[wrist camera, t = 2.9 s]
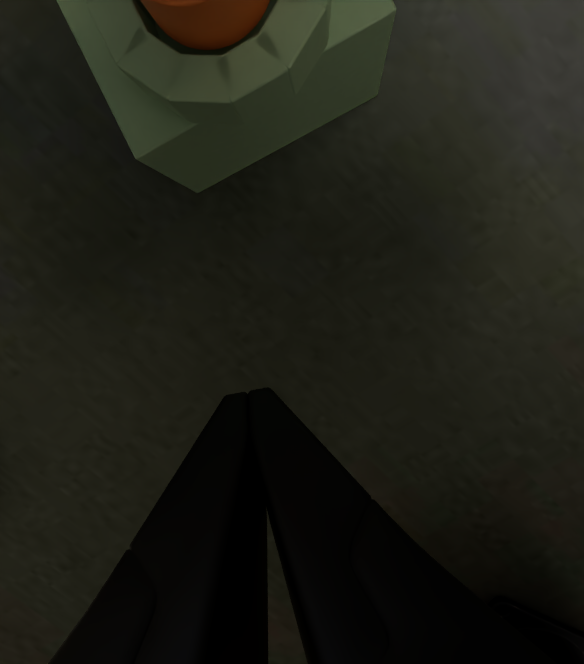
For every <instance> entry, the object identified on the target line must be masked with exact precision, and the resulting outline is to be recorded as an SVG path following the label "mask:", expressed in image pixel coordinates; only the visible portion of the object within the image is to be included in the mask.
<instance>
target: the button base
mask: <svg viewBox="0 0 584 664" xmlns="http://www.w3.org/2000/svg"><path fill="white" fill-rule="evenodd" d="M57 2H58V4H59V6H60V8H61V10H62V12H63V14H64V16H65V18H66V20H67V22H68V24H69V27H70V29H71V31H72V33H73V35H74V37H75V39H76V41H77V43H78V45H79V47H80V49H81V51H82V53H83V55H84V57H85V59H86V61H87V63H88V65H89V67H90V69H91V71H92V73H93V75H94V77H95V79H96V81H97V83H98V85H99V87H100V89H101V91H102V93H103V95H104V97H105V99H106V101H107V103H108V105H109V107H110V109H111V111H112V113H113V115H114V117H115V119H116V121H117V123H118V125H119V127H120V129H121V131H122V133H123V135H124V137H125V139H126V141H127V143H128V145H129V147H130V149H131V151H132V153H133V155H134V157H135V159H137V160H138V161H140V162H142V163H144V164H146V165H147V166H149V167H151V168H153V169H155V170H156V171H158V172H160V173H162V174H164V175H165V176H167V177H169V178H171V179H172V180H174V181H176V182H178V183H180V184H181V185H183V186H185V187H187V188H189V189H190V190H192V191H194V192H196V193H199V192H201V191H203V190H205V189H207V188H209V187H210V186H212V185H214V184H216V183H218V182H220V181H222V180H223V179H225V178H227V177H229V176H231V175H233V174H234V173H236V172H238V171H240V170H242V169H244V168H245V167H247V166H249V165H251V164H253V163H255V162H256V161H258V160H260V159H262V158H264V157H266V156H267V155H269V154H271V153H273V152H275V151H277V150H279V149H280V148H282V147H284V146H286V145H288V144H290V143H291V142H293V141H295V140H297V139H299V138H301V137H302V136H304V135H306V134H308V133H310V132H312V131H313V130H315V129H317V128H319V127H321V126H323V125H324V124H326V123H328V122H330V121H332V120H334V119H335V118H337V117H339V116H341V115H343V114H345V113H347V112H348V111H350V110H352V109H354V108H356V107H358V106H359V105H361V104H363V103H365V102H367V101H369V100H370V99H372V98H374V97H376V96H377V95H378V91H379V86H380V81H381V77H382V72H383V68H384V63H385V59H386V54H387V50H388V45H389V41H390V36H391V32H392V27H393V23H394V18H395V14H396V7H395V5H394V2H393V0H270V2H269V5H268V7H267V9H266V11H265V13H264V15H263V17H262V18H261V20H260V21H259V23H258V24H257V25H256V26H255V27H254V29H253V30H252V31H251V32H250V33H248V34H247V35H246V36H245V37H244V38H242V39H241V40H239V41H238V42H236V43H234V44H232V45H230V46H227V47H224V48H220V49H215V50H199V49H194V48H190V47H187V46H184V45H182V44H180V43H178V42H176V41H175V40H173V39H172V38H171V37H169V36H168V35H167V34H166V33H165V32H164V31H163V30H162V29H161V28H160V27H159V25H158V24H157V23H156V21H155V20H154V19H153V17H152V16H151V14H150V13H149V12H148V10H147V9H146V8H145V6H144V5H143V4H142V2H141V1H140V0H57Z"/></svg>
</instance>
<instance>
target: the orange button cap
mask: <svg viewBox="0 0 584 664" xmlns="http://www.w3.org/2000/svg"><path fill="white" fill-rule="evenodd" d="M140 1H141V2H142V4H143V5H144V6H145V8H146V9H147V10H148V12H149V13H150V14H151V16H152V17H153V19H154V20H155V21H156V23H157V24H158V25H159V27H160V28H161V29H162V30H163V31H164V32H165V33H166V34H167V35H168V36H169V37H171V38H172V39H173V40H175V41H176V42H178V43H180V44H182V45H184V46H187V47H190V48H194V49H199V50H215V49H220V48H224V47H227V46H230V45H232V44H234V43H236V42H238V41H239V40H241V39H242V38H244V37H245V36H246V35H247V34H248V33H250V32H251V31H252V30H253V29H254V27H255V26H256V25H257V24H258V23H259V21H260V20H261V18H262V17H263V15H264V13H265V11H266V9H267V7H268V5H269V2H270V0H140Z"/></svg>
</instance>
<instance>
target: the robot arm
mask: <svg viewBox="0 0 584 664" xmlns="http://www.w3.org/2000/svg"><path fill="white" fill-rule="evenodd" d="M266 507H267V511H268V515H269V519H270V524H271V528H272V531H273V535H274V539H275V543H276V546H277V550H278V554H279V558H280V561H281V565H282V569H283V573H284V576H285V580H286V584H287V588H288V591H289V595H290V599H291V603H292V606H293V610H294V614H295V618H296V621H297V625H298V629H299V633H300V636H301V640H302V644H303V648H304V651H305V655H306V659H307V663H308V664H584V633H582V632H580V631H578V630H576V629H574V628H571V627H569V626H567V625H565V624H563V623H561V622H558V621H556V620H554V619H552V618H550V617H548V616H545V615H543V614H541V613H539V612H537V611H534V610H532V609H530V608H528V607H526V606H524V605H521V604H519V603H517V602H515V601H513V600H510V599H508V598H506V597H503V596H496V597H494V598H493V599H492V600H491V601H490V602H489V604H488V605H487V604H486V603H485V602H483V601H482V600H481V599H480V598H479V597H478V596H476V595H475V594H474V593H473V592H472V591H471V590H469V589H468V588H467V587H466V586H465V585H463V584H462V583H461V582H460V581H459V580H458V579H456V578H455V577H454V576H453V575H452V574H451V573H449V572H448V571H447V570H446V569H445V568H444V567H443V566H441V565H440V564H439V563H438V562H437V561H436V560H435V559H434V558H433V557H431V556H430V555H429V554H428V553H427V552H426V551H425V550H424V549H422V548H421V547H420V546H419V545H418V544H417V543H416V542H415V541H414V540H413V539H412V538H411V537H410V536H409V535H408V534H407V533H406V532H405V531H404V530H403V529H402V528H401V527H400V526H399V525H398V524H397V523H396V522H395V521H394V520H393V519H392V518H391V517H390V516H389V515H388V514H387V513H386V512H385V511H384V510H383V508H382V507H381V506H380V505H379V504H378V503H377V502H376V501H375V500H374V499H371V496H370V495H369V494H368V493H367V492H366V490H365V489H364V488H363V487H362V486H361V485H360V484H359V483H358V482H357V481H356V480H355V479H354V478H353V476H352V475H351V474H350V473H349V472H348V471H347V470H346V469H345V468H344V467H343V466H342V465H341V464H340V462H339V461H338V460H337V459H336V458H335V457H334V456H333V455H332V454H331V453H330V452H329V451H328V449H327V448H326V447H325V446H324V445H323V444H322V443H321V442H320V441H319V440H318V439H317V438H316V437H315V435H314V434H313V433H312V432H311V431H310V430H309V429H308V428H307V427H306V426H305V425H304V424H303V423H302V421H301V420H300V419H299V418H298V417H297V416H296V415H295V414H294V413H293V412H292V411H291V410H290V409H289V407H288V406H287V405H286V404H285V403H284V402H283V401H282V400H281V399H280V398H279V397H278V396H277V395H276V393H275V392H274V391H273V390H272V389H271V388H268V387H267V388H262V389H256V390H251V391H250V392H249V393H248V394H247V393H246V392H240V393H235V394H229V395H226V396H225V397H224V398H223V399H222V401H221V402H220V404H219V405H218V407H217V409H216V410H215V412H214V413H213V415H212V416H211V418H210V420H209V421H208V423H207V424H206V426H205V427H204V429H203V431H202V432H201V434H200V435H199V437H198V438H197V440H196V442H195V443H194V445H193V446H192V448H191V449H190V451H189V453H188V454H187V456H186V457H185V459H184V461H183V462H182V464H181V465H180V467H179V468H178V470H177V472H176V473H175V475H174V476H173V478H172V479H171V481H170V483H169V484H168V486H167V487H166V489H165V490H164V492H163V494H162V495H161V497H160V498H159V500H158V502H157V503H156V505H155V506H154V508H153V509H152V511H151V513H150V514H149V516H148V517H147V519H146V520H145V522H144V524H143V525H142V527H141V528H140V530H139V531H138V533H137V535H136V536H135V538H134V539H133V541H132V542H131V544H130V549H131V550H130V549H128V550H126V552H125V553H124V555H123V556H122V558H121V559H120V561H119V563H118V564H117V566H116V567H115V569H114V570H113V572H112V574H111V575H110V577H109V578H108V580H107V581H106V583H105V584H104V586H103V587H102V589H101V590H100V592H99V593H98V594H97V596H96V597H95V599H94V600H93V602H92V603H91V605H90V606H89V608H88V609H87V611H86V612H85V614H84V615H83V616H82V618H81V619H80V621H79V622H78V623H77V625H76V626H75V627H74V629H73V630H72V632H71V633H70V634H69V636H68V637H67V638H66V640H65V641H64V642H63V644H62V645H61V647H60V648H59V649H58V651H57V652H56V653H55V655H54V656H53V657H52V659H51V660H50V661H49V663H48V664H268V583H267V512H266ZM500 607H505V608H504V609H503V610H498V609H499V608H500Z"/></svg>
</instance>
